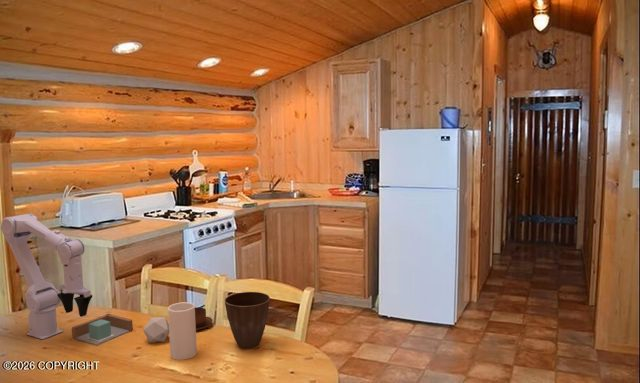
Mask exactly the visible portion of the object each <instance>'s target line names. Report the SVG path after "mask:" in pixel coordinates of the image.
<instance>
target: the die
mask: <svg viewBox="0 0 640 383" xmlns="http://www.w3.org/2000/svg"><path fill="white" fill-rule="evenodd" d="M142 332H143V333H144V335H145V336H146V339H147V341H148V342H149V343H165V341H166V340H167V337H168V336H169V320H167V317H165V316H163V317H160V316H158V317H150V319H148V321H147V323H146V324H145V326H144V328H143V330H142Z"/></svg>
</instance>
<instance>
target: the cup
mask: <svg viewBox="0 0 640 383" xmlns="http://www.w3.org/2000/svg"><path fill="white" fill-rule="evenodd" d="M195 305H196V304H194V303H193V302H187V301H183V302H177V303H172V304H170V305H169V306H168V308H167V310H168V312H167V313H168V314H167V315H168V323H169V334H168V336H169V350H170V351H169V352H170V354H169V355H170V358H171V359H173V360H177V361H182V360H189V359H191V358H194V357H195V356H196V355H197V354H198V351H197V330H196V324H195V308H196V307H195Z"/></svg>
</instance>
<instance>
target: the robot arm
mask: <svg viewBox="0 0 640 383" xmlns="http://www.w3.org/2000/svg"><path fill="white" fill-rule="evenodd" d="M0 230H1V232H2V234H3V236H4V238H5V241H6V243H8V245H9V248H10V250H11V251H12V255H13V257H14V259H15V260H16V263H17V265H18V267H19V269H20V271H21V273H22V276H23V278H24V279H25V282H26V284H27V287H28V289H27V291H26V292H25V293H24V295H23V296H24V298H25V303H26V308H27V309H28V310H29V313H28V315H27V320H28V321H27V322H28V330H29V332H27V333H26V335H28V336H30V337H33V338H37V339H40V340H46V339H48V338H51V337H54V336H56V335H59V334H61V333H63V332H64V330H63V329H59V328H58V318H57V317H58V316H57V308H58V305H59V304H60V302H61V303H62V307H63V309H64V311H65V313H66V314H68V313H72V312H73V310H74V301H75V303H76V305H77V309H78V315H79V317H85V316H87V314H88V313H87V312H88V308H89V305H90V302H91V301H92V298H93V294H91V289H88V288H87V287H85V286H84V278H83V266H82V265H83V264H82V255H84V253H85V251H86V250H85V249H86V248H85V244H84V243H83V241H81V240H80V239H79V238H76V239H75V238H74V239H73V238H71V237H69V236H66V235H65V234H64V233H62V232H61V231H60V230H58V229H57V230H51V229H49V228H48V227H46V225H45V224H43V223H41V222H40V221H39V220H38V217H37V216H36V215H34V214H33V213H30V212H28V213H25V214H19V215H13V216H6V217H4V218H3V219H2V221H1V227H0ZM32 234H34V235H35V236H38V237H39V238H41V239H43V240H44V243H45V245H47V246H48V247H50V248H52V249H53V250H55V251H56V252H57V254H58V257H59V258H60V261H61V262H60V263H61V264H62V268H63V281H64V282H63V283H64V284H61V285H58V289H57V288H56V287H55V286H54V284H53V283H51V282H49V281H46V280H45V278H44V275H43V274H42V272H41V270H40V267H39V265H38V262H37V261H36V259H35V257H34V254H33V253H32V250H31V248H30V245H29V244H28V240H29V239H30V238H31V237H32ZM75 295H77V296H76V297H75Z"/></svg>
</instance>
